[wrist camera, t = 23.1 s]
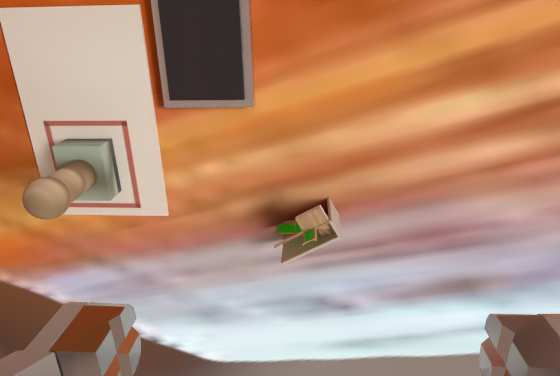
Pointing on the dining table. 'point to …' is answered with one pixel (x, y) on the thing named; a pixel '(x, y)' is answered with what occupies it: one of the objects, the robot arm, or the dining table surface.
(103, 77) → the paper sheet
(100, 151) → the stamp
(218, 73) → the ink pad
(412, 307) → the dining table surface
